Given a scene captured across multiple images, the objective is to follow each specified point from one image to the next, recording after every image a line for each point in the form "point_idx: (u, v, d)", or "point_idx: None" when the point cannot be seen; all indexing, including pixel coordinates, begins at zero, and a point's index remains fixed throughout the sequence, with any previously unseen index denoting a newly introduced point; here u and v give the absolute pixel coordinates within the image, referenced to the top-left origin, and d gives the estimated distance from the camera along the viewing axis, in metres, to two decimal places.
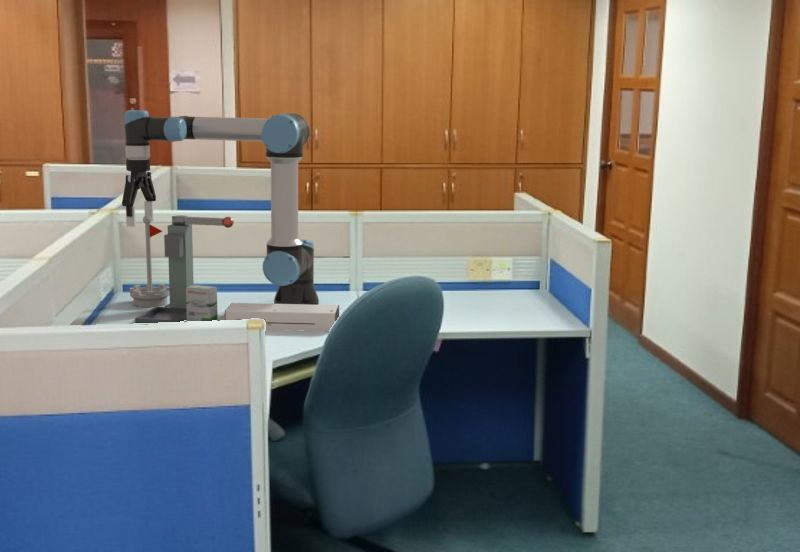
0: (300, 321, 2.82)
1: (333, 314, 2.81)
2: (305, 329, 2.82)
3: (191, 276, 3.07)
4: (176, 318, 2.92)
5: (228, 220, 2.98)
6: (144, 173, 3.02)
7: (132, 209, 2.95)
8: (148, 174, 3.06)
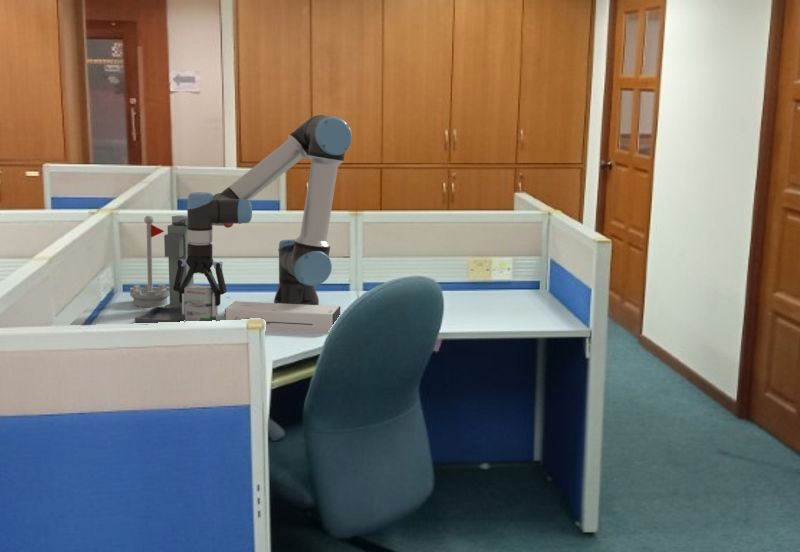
0: (298, 321, 2.82)
1: (330, 315, 2.80)
2: (303, 329, 2.82)
3: None
4: (176, 318, 2.92)
5: None
6: (205, 259, 2.83)
7: None
8: None
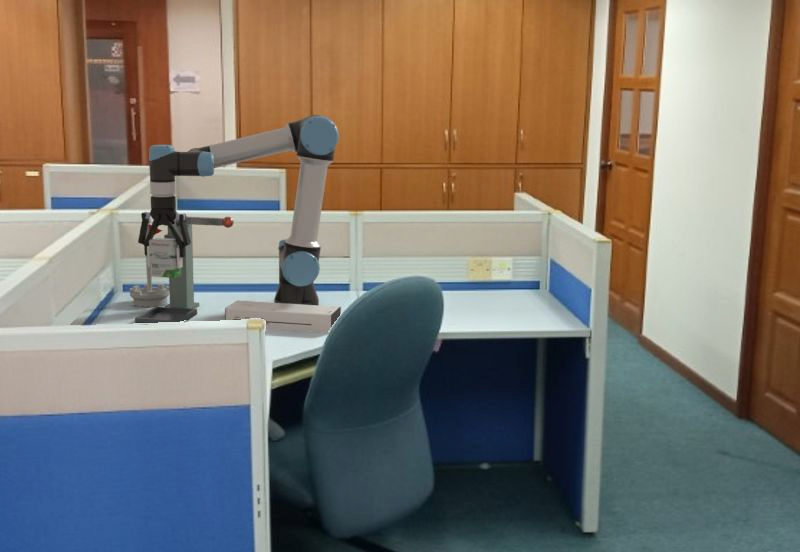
0: (297, 321, 2.82)
1: (329, 315, 2.79)
2: (302, 329, 2.82)
3: (191, 276, 3.07)
4: (176, 318, 2.92)
5: (228, 220, 2.98)
6: (169, 211, 2.85)
7: None
8: None
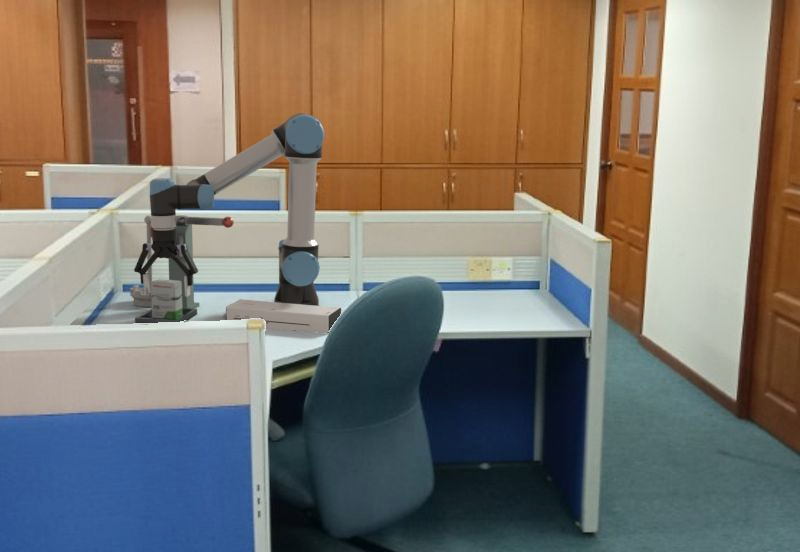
0: (295, 321, 2.82)
1: (327, 316, 2.79)
2: (300, 330, 2.82)
3: None
4: None
5: (228, 220, 2.98)
6: (169, 244, 2.87)
7: None
8: None
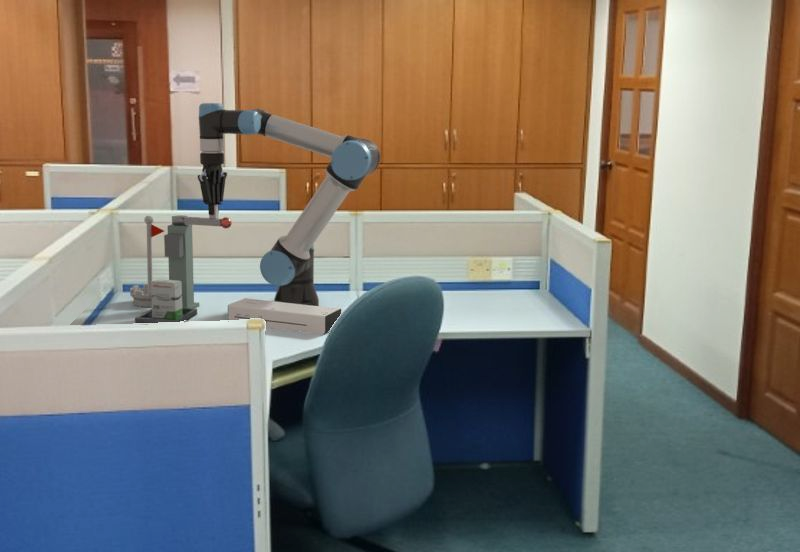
0: (293, 321, 2.82)
1: (323, 317, 2.78)
2: (298, 330, 2.82)
3: (191, 276, 3.07)
4: None
5: (226, 220, 2.96)
6: (220, 165, 3.00)
7: (214, 208, 2.99)
8: (224, 173, 3.02)
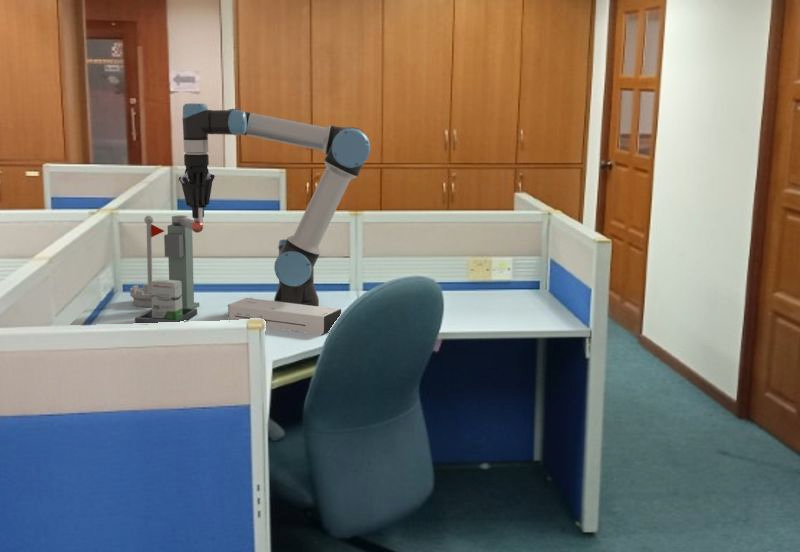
0: (292, 321, 2.82)
1: (322, 317, 2.77)
2: (297, 330, 2.81)
3: (191, 276, 3.07)
4: None
5: (193, 224, 2.87)
6: (205, 167, 2.92)
7: (198, 210, 2.92)
8: (211, 175, 2.94)
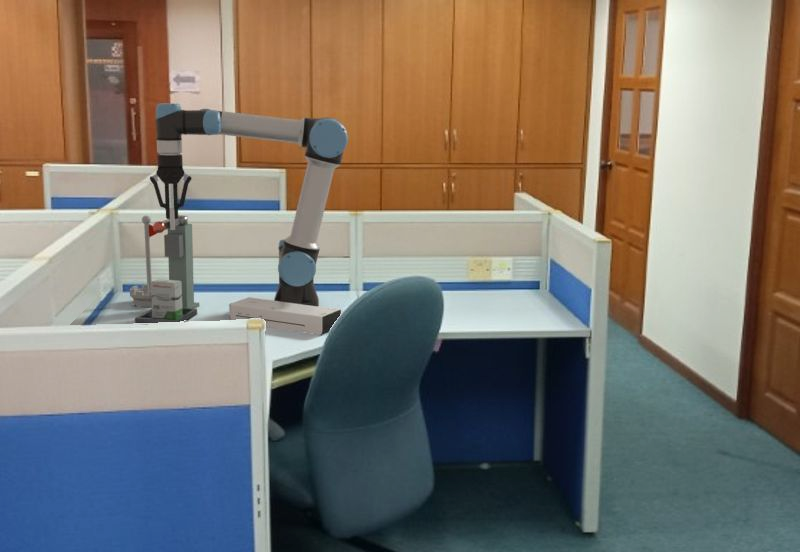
0: (292, 321, 2.82)
1: (320, 317, 2.77)
2: (296, 330, 2.81)
3: (191, 276, 3.07)
4: None
5: None
6: (179, 168, 2.87)
7: (169, 212, 2.89)
8: (187, 177, 2.88)
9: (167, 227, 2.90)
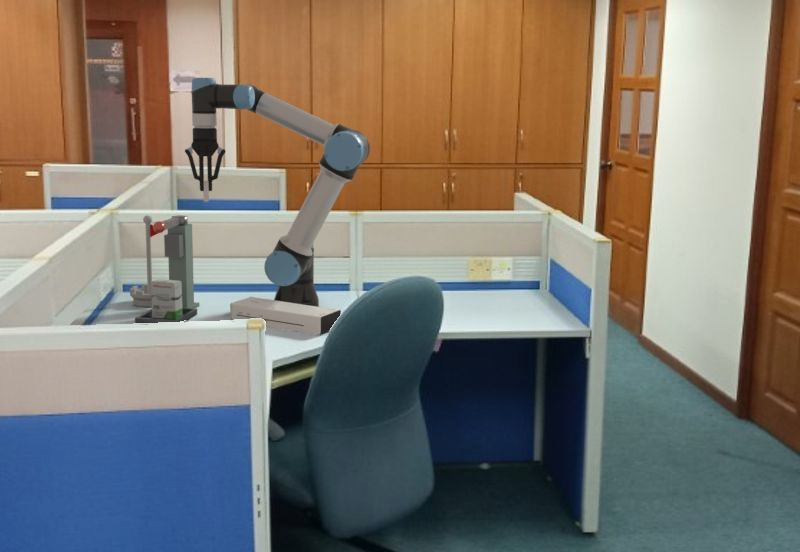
0: (291, 321, 2.82)
1: (319, 318, 2.77)
2: (295, 330, 2.81)
3: (191, 276, 3.07)
4: None
5: None
6: (214, 141, 2.93)
7: (203, 184, 2.95)
8: (221, 150, 2.95)
9: (167, 227, 2.90)
